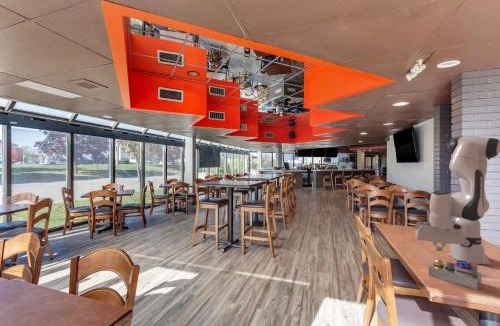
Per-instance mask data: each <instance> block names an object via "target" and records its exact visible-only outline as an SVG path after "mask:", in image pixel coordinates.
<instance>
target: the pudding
mask: <svg viewBox="0 0 500 326" xmlns="http://www.w3.org/2000/svg"><path fill="white" fill-rule="evenodd" d="M454 267H458V268H462V269H466V270H470V271H472V263H469V262H467V261H464V260H456V261H455V263H454Z"/></svg>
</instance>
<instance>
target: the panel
mask: <svg viewBox="0 0 500 326" xmlns="http://www.w3.org/2000/svg"><path fill="white" fill-rule="evenodd" d="M428 276H430V277H433V278H435V279H439V280H442V281H446V282H449V283H453V284H456V285H458V286H463V287H466V288H469V289H473V290H475V291H478V289H479V288H480V286H481V284H482V273H481V272H478V275H477V276H472V271H470V270H466V269H462V268H458V267H454V271H451V270H448V269H446V263H443V268H440V267H436V266H435V261H433V262H432V263H431V264H429V266H428Z"/></svg>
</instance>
